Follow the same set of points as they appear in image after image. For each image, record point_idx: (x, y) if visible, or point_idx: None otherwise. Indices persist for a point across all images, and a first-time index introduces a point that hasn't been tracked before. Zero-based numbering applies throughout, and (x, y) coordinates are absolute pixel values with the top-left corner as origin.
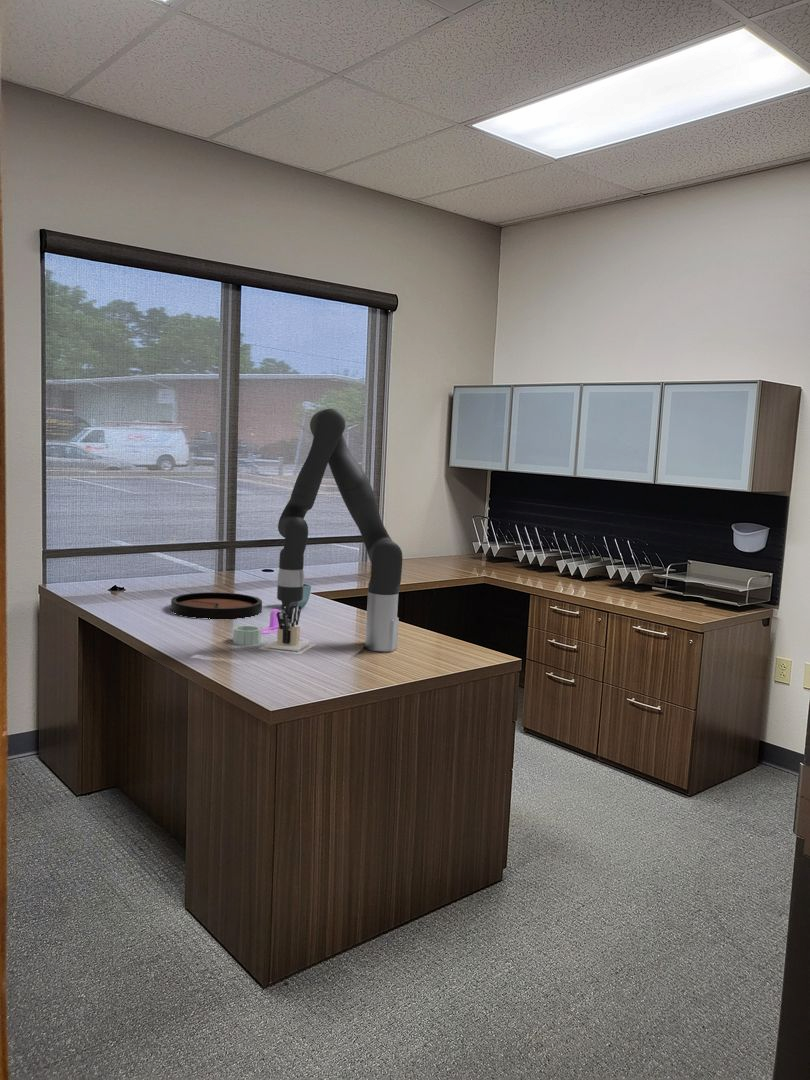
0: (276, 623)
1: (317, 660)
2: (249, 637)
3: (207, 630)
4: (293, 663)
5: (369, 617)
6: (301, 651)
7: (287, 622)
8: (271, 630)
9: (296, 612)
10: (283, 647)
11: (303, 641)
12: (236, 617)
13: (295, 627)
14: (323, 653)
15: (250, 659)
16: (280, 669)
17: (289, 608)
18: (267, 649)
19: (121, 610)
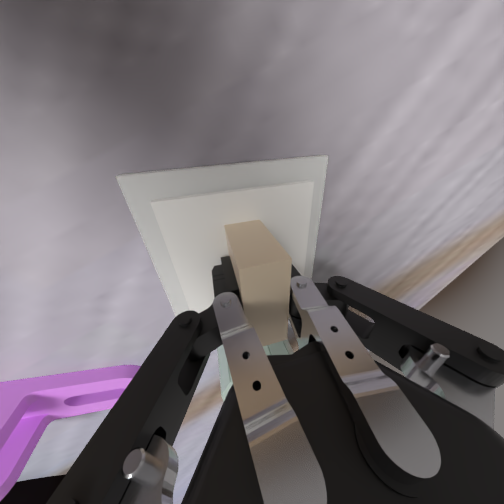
0: (12, 432)
1: (345, 42)
2: (287, 346)
3: (189, 427)
4: (402, 135)
5: None
6: (288, 171)
7: (379, 307)
8: (89, 393)
9: (270, 405)
10: (307, 241)
11: (171, 232)
12: (41, 483)
13: (266, 280)
14: (199, 73)
15: (372, 262)
16: (469, 140)
17: (470, 450)
18: (307, 276)
19: (174, 495)
